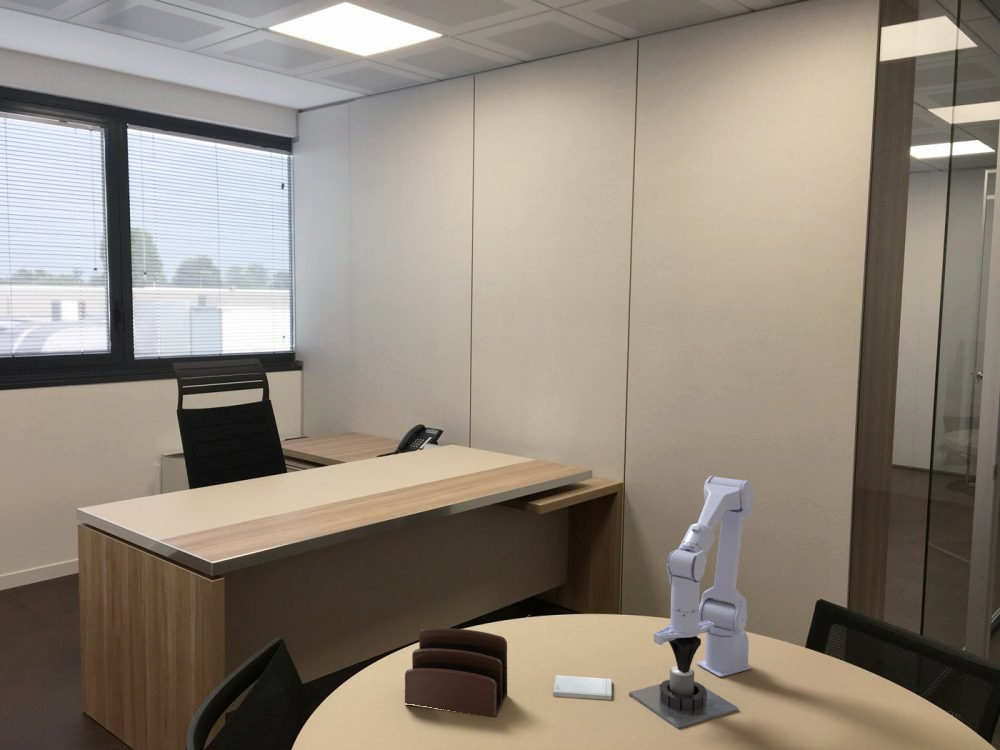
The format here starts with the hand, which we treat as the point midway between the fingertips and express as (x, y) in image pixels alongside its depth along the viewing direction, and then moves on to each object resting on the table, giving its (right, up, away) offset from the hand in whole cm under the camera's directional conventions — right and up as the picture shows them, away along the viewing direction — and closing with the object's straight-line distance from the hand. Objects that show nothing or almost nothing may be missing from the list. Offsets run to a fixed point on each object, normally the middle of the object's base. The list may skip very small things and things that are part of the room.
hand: (683, 670), depth 173 cm
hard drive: (-20, -7, +7) cm, 23 cm away
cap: (0, -6, +1) cm, 6 cm away
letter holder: (-48, -7, +1) cm, 48 cm away
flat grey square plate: (0, -7, +1) cm, 7 cm away
